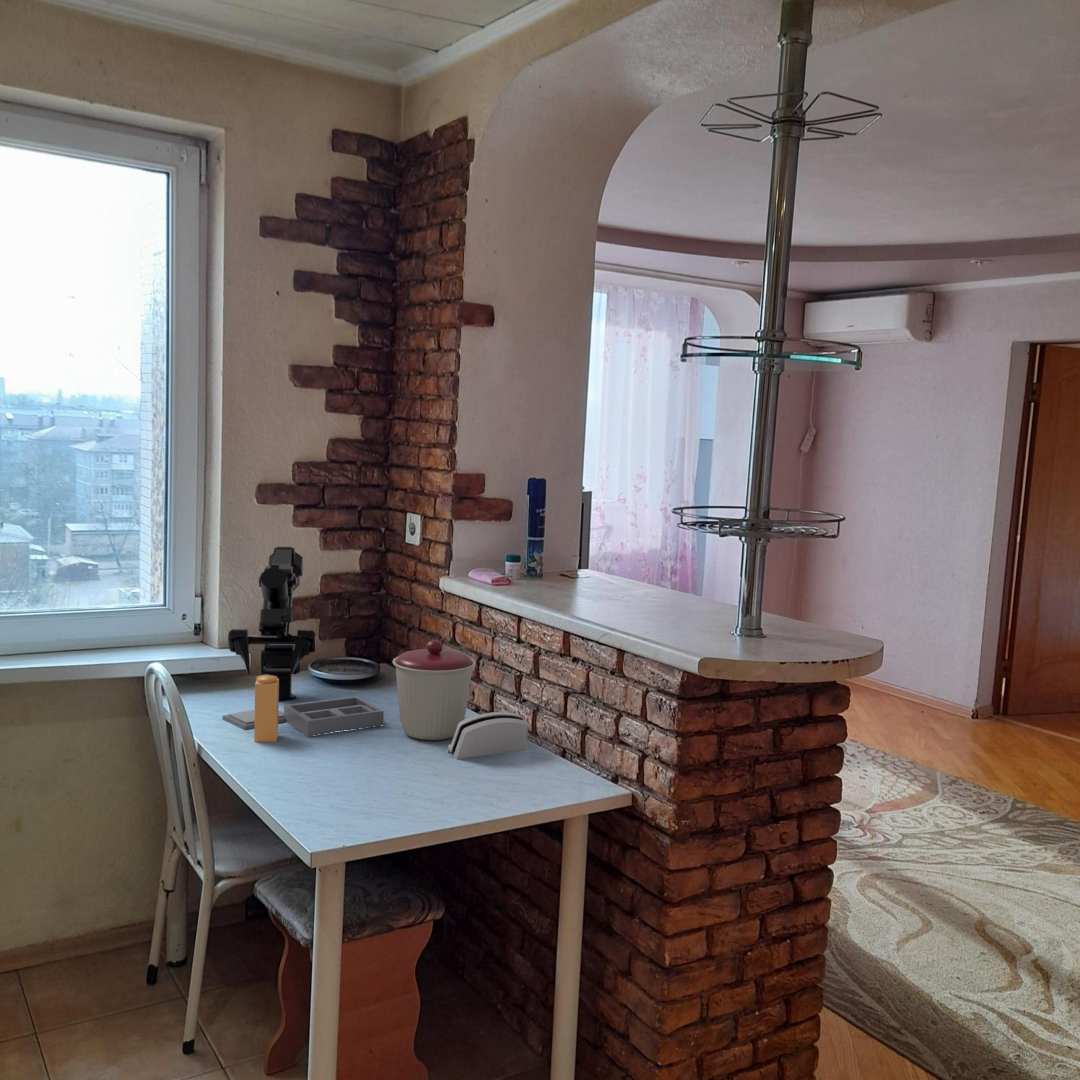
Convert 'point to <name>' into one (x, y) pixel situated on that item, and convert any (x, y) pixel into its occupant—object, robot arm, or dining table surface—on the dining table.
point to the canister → (432, 690)
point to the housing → (333, 715)
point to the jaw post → (266, 708)
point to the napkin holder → (489, 735)
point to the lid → (247, 719)
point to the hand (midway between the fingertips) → (269, 673)
